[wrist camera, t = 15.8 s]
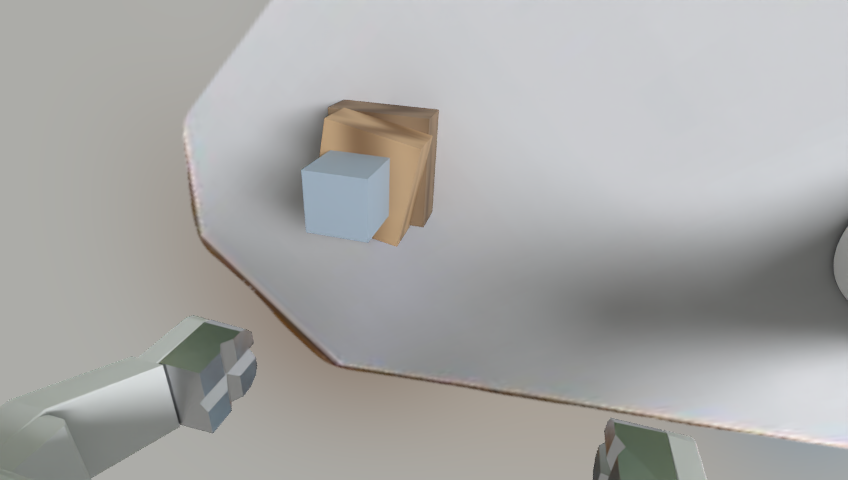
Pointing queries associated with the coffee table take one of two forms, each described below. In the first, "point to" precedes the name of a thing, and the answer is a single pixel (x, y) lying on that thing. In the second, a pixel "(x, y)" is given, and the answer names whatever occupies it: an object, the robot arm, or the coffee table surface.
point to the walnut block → (414, 120)
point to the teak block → (383, 140)
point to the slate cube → (346, 195)
